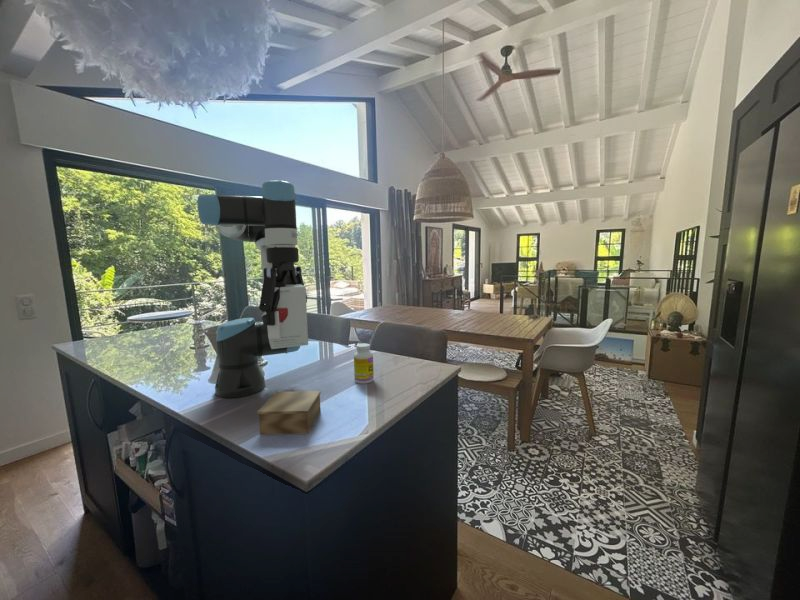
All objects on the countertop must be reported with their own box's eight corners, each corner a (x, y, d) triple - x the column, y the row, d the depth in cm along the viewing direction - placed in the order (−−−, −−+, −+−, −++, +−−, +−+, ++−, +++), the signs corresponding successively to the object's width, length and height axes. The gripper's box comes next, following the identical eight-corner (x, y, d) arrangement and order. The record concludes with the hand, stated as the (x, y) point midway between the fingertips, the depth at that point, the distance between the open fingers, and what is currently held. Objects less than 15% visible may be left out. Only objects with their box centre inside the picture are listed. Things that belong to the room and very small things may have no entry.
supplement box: (270, 350, 81) (266, 287, 79) (268, 341, 89) (264, 285, 87) (309, 345, 85) (306, 285, 83) (304, 337, 93) (300, 283, 91)
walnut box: (259, 434, 83) (257, 411, 83) (277, 412, 96) (276, 391, 95) (309, 434, 83) (307, 410, 82) (321, 411, 95) (320, 391, 95)
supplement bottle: (370, 384, 115) (369, 347, 113) (352, 383, 116) (350, 347, 114) (376, 377, 121) (374, 342, 120) (358, 377, 122) (356, 342, 121)
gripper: (268, 245, 71) (275, 345, 74) (316, 247, 95) (320, 323, 98) (236, 246, 73) (244, 344, 75) (292, 248, 96) (296, 322, 99)
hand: (287, 332), depth 87 cm, fingers closed on supplement box, 12 cm apart
